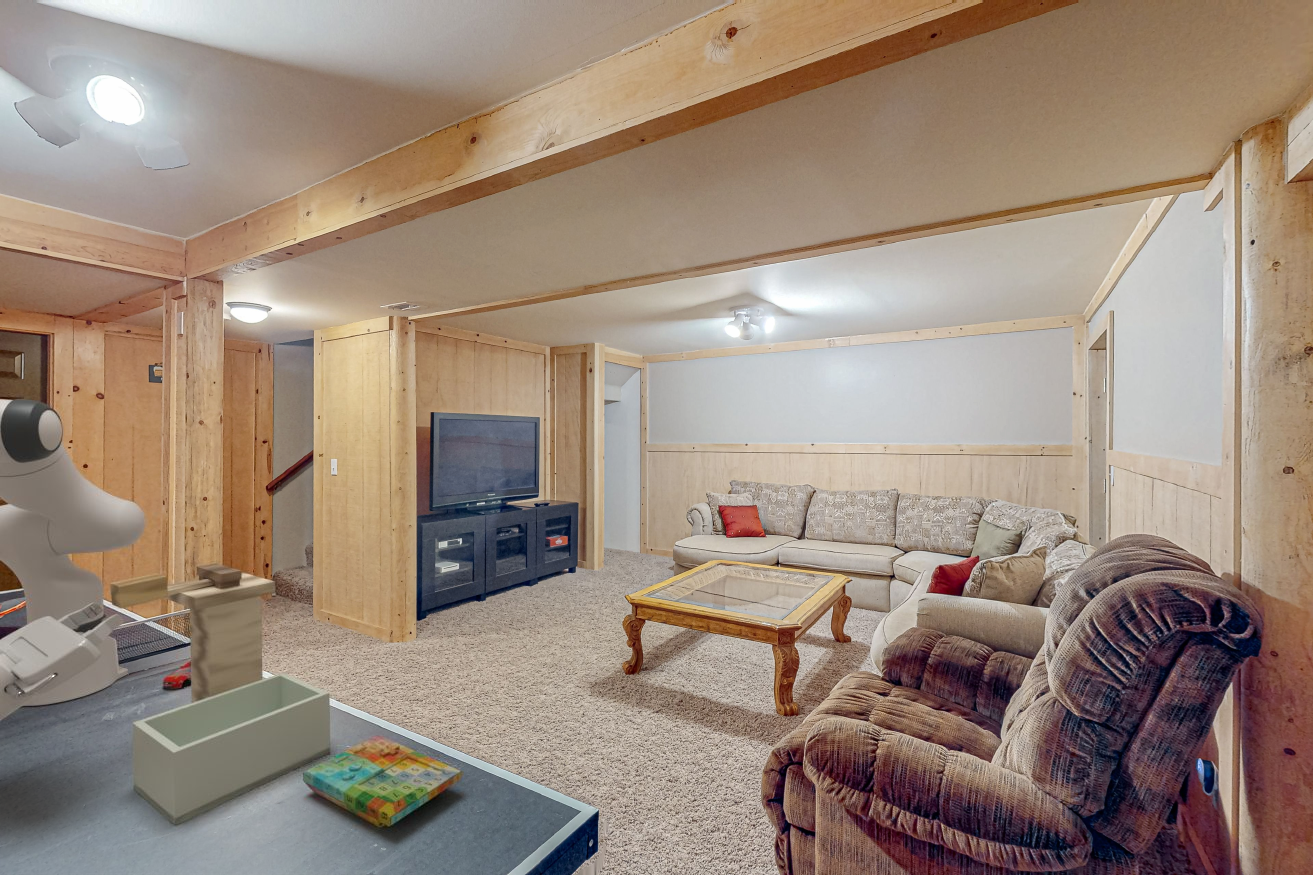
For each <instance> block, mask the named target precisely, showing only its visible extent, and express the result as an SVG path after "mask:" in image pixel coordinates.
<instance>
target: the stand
mask: <svg viewBox="0 0 1313 875" xmlns="http://www.w3.org/2000/svg"><path fill="white" fill-rule="evenodd" d="M196 575H197V576H198V578H196V579H191V580H186V581H181V582H176V583H175V582H174V583H169V584H167V588H170V587H174V586H179V585H183V584H187V583H192V582H196V581H200V580H204V579H211V580H214V581H215V584H214V585H210V586H206V587H202V588H198V589H194V590H190V591H185V592H181V593H177V594H173V595H169V596H168V597H167V598H165V599H166V600H168V601H171V602H174V603H176V604H179V605H182V606H184V607H186V608H189V624H190V626H189V632H190V633H189V635H190V638H189V639H190V640H189V641H190V661H191V685H190V687H191V689H190V690H191V703H194V702H197V701H200V700H203V699H206V698H209V697H212V696H215V695H218V694H221V693H224V692H227V691H230V690H233V689H236V688H239V687H242V686H245V685H248V684H251V683H254V682H257V681H260V680H263V679H264V678H263V640H262V639H263V624H262V623H263V622H262V620H263V619H262V618H263V617H262V596H266V595H267V596H268V595H270V594H275V593H276V581H275V580H271V579H267V578H263V577H260V576H256V575H253V574H250V573H247V572H243V571H242V570H241V569H237V568H233V567H230V566H226V565H223V564H220V563H210V564H206V565H204V564H203V565H199V566H196Z"/></svg>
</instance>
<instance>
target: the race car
mask: <svg viewBox="0 0 1313 875" xmlns="http://www.w3.org/2000/svg"><path fill="white" fill-rule="evenodd" d="M179 667H180V668H179V669H177V670H176V671H174V672H172V673H170V674H168V675H167V676H165V677H164V678H163V680H162V688H163V689H167V690H175V689H176V690H177V689H185V688H184V687H186V688H187V686H188V687H191V660H190V661H188V662H187V663H185V664H184V665H181V666H179Z"/></svg>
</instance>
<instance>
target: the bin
mask: <svg viewBox="0 0 1313 875" xmlns="http://www.w3.org/2000/svg"><path fill="white" fill-rule="evenodd" d="M330 699H331V698H330V692H329V691H326V690H324V689H322V688H320V687H317V686H315V685H313V684H310V683H309V682H306V681H304V680H301V679H299V678H297V677H294V676H292V675H290V674H287V673H285V672H281V673H278V674H275V675H272V676H269V677H266V678H263V680H260V681H257V682H254V683H251V684H248V685H245V686H242V687H239V688H236V689H233V690H230V691H227V692H224V693H221V694H218V695H215V696H212V697H209V698H206V699H203V700H200V701H197V702H194V703H192V702H191V703H188V704H184V705H182V706H179V707H175V708H173V709H170V710H167V711H164V712H160V713H158V714H155V715H152V716H150V717H146V718H143V719H140V720H137V721H134V722H132V758H133V759H132V761H133V763H132V764H133V790H134V791H135V792H136V793H137V794H139V796H141V797H142V798H143V799H145V800H146V801H147V803H149V804H150V805H151V806H152V807H154V808H155V810H157V811H158V812H159V814H161V815H163V816H164V817H165V818H166V819H167V820H168V821H169V822H170V823H171V824H173V826H177V825H179V824H182V823H183V822H185V821H187V820H190V819H192V818H194V817H197V816H198V815H201V814H203V813H205V812H207V811H209V810H211V809H214V808H215V807H218V806H220V805H222V804H223V803H226V802H228V801H230V800H233V799H235V798H238V797H239V796H241V795H243V794H246V793H247V791H248V792H249V790H250V791H251V789H252V790H253V789H255V788H258V787H260V786H262V785H264V784H266V783H268V782H272V780H274V779H277V778H280V777H282V776H284V775H286V774H288V773H290V772H293V771H295V770H297V769H298V768H301V767H302V766H305V765H307V764H309V763H311V762H313V761H316V760H318V759H320V758H322V757H324V756H326V755H328V754H330V753H331V714H330V713H331V712H330V711H331V709H330V705H331V704H330ZM240 794H241V795H240Z"/></svg>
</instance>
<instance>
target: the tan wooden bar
mask: <svg viewBox="0 0 1313 875" xmlns="http://www.w3.org/2000/svg"><path fill="white" fill-rule="evenodd" d="M167 577H168V576H167V575H163V574H162V573H161V574H160V573H157V572H156V573H155V572H154V573H151V574H147V575H142V576H138V577H132V578H128V579H123V580H119V581H118V580H117V581H112V582H110V584H109V586H110V587H109V588H110V596H111V597H110V598H111V605H112V606H114V607H117V608H119V609H120V610H121V609H125V608H130V607H135V606H138V605H142V604H146V603H150V602H154V601H158V600H162V599H166V598H167V597H168V596H169V595H173V594H177V593H181V592H185V591H190V590H194V589H198V588H202V587H206V586H210V585H214V584H215V581H214V580H211V579H204V580H200V581H196V582H192V583H187V584H183V585H179V586H174V587H170V588H167V585H168V578H167Z"/></svg>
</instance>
